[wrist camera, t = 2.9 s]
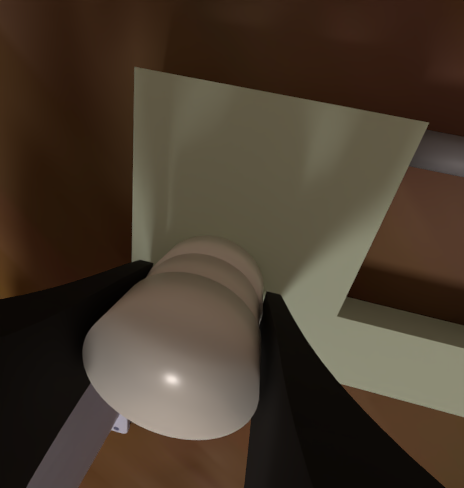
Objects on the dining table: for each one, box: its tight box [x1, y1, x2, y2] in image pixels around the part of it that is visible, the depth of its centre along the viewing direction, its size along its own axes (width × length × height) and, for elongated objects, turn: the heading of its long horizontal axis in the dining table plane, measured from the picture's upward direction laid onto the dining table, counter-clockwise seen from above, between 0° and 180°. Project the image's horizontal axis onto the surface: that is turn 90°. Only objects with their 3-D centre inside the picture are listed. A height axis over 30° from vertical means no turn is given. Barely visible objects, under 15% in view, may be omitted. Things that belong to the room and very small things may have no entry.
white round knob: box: [82, 235, 264, 440], centre depth 8 cm, size 5×5×5 cm
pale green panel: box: [132, 67, 464, 417], centre depth 10 cm, size 20×12×2 cm, turn 79°
